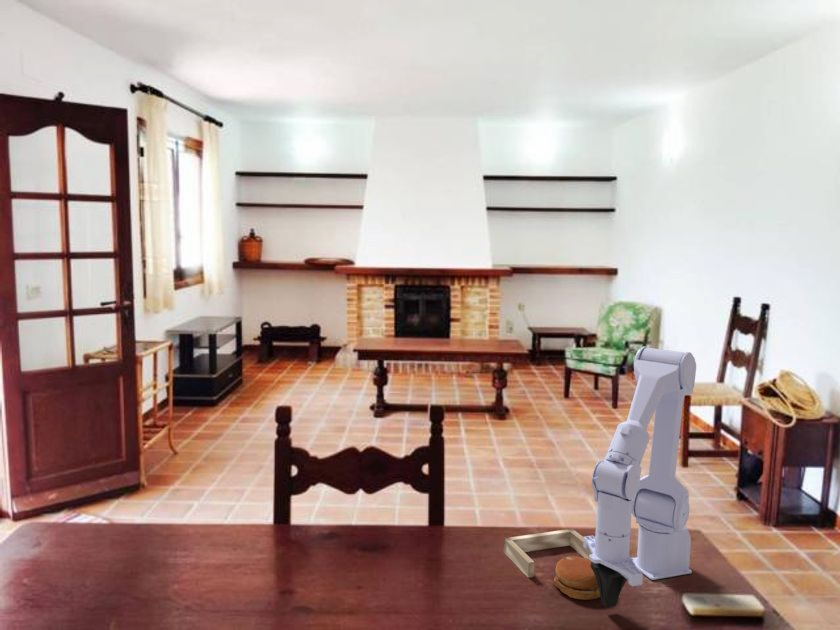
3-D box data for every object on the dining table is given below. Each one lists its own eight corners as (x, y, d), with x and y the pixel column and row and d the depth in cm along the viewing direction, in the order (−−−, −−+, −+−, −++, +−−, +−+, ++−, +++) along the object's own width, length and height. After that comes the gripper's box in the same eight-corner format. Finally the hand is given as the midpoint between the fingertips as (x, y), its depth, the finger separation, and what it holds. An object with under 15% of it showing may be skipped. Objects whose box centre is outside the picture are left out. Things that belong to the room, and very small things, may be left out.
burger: (588, 607, 119) (589, 582, 118) (543, 587, 125) (544, 563, 124) (615, 587, 126) (617, 563, 125) (572, 569, 132) (573, 546, 131)
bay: (571, 542, 143) (572, 528, 143) (600, 565, 133) (601, 551, 133) (503, 552, 138) (504, 538, 138) (527, 577, 128) (528, 562, 128)
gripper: (570, 515, 121) (566, 586, 122) (618, 552, 107) (613, 631, 109) (603, 510, 123) (600, 581, 125) (655, 546, 109) (650, 624, 111)
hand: (608, 604), depth 117 cm, fingers closed
